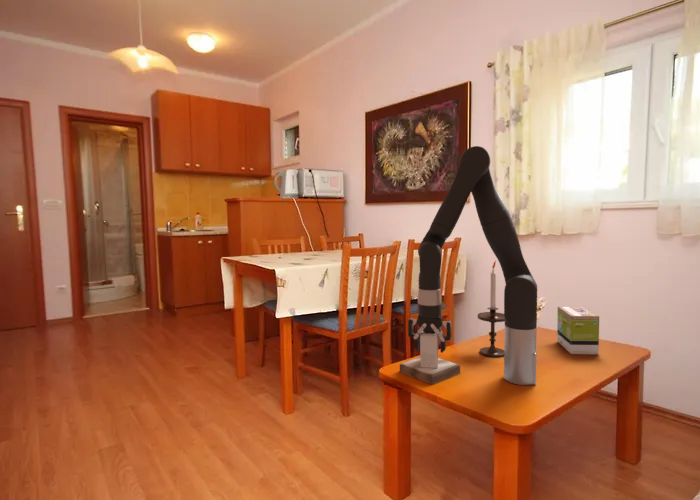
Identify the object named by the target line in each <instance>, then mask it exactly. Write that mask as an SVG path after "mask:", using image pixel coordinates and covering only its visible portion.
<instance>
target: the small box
mask: <svg viewBox="0 0 700 500" xmlns="http://www.w3.org/2000/svg"><path fill="white" fill-rule="evenodd" d="M419 350H420V351H419V354H420V355H419V357H420V363H421V367H427V368H438V358H439V337H438V335H437V334H436V333H424V332H423V331H422V332H421V334H420V335H419Z"/></svg>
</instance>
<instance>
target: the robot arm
mask: <svg viewBox="0 0 700 500" xmlns="http://www.w3.org/2000/svg"><path fill="white" fill-rule="evenodd" d="M490 166H491V156H490V153H489V151H488V150H487V149H486V148H484V147H483V146H477V145H476V146H471V147H468V148H467V149H466V150H464V152H462V154H461V156H460V158H459V164H458V169H457V171H456V175H455V177H454V179H453V182H452V184H451V186H450V188H449V190H448V193H447V194H446V196H445V198H444V199H443V201H442V203H441V205H440V206H439V208H438V210H437V212H436V214H435V216H434V218H433V220H432V222H431V224H430V226H429V229H428V231H427V232H426V233H425V235H424V237H423V239H422V241H421V242H420V244H419V245H418V248H417V254H418V257H419V272H418V273H419V274H418V291H417V318H413V317H410V318H409V319H408V321H407V322H408V324H407V325H408V329H407V330H408V331H407V333H408V334H407V336H408V337H409V338H412V339H413V346H414V349H415V350H416V351H419V350H420V335H421V332H422V331H423V332H424V333H436V334H437V335H438V339H439V340H440V353H444V352H445V350H447V349H446V347H447V345H446V344H447V343H446V342H448V341H451V339H452V321H451V320H448V321H446V320H445V321H444V320H443V319H442V292H441V270H442V269H441V268H442V248H443V247H444V244H445V243H446V240H447V239H448V238H449V237H450V236H451V235H452V234H453V233H452V232H453V231H454V230H455V227H456V225H457V223H458V221H459V219H460V217H461V215H462V212H463V210H464V208H465V205H466V203H467V201H468V199H469V196H470V194H471V195H472V197H473V201H474V204H475V208H476V213H477V215H478V216H477V217H478V220H479V223H480V226H481V229H482V231H483V234H484V237H485V240H486V241H487V243H488V245H489V247H490V249H491V251H492V253H493V254H494V255H495V258H496V259H497V260H498V263H499V265H500V268H501V271H502V275H503V278H504V282H505V286H504V292H503V294H504V295H503V304H504V305H503V314H504V318H505V321H504V339H503V340H504V343H503V344H504V348H503V350H504V356H503V359H504V361H503V379H504V380H505V381H506V382H509V383H511V384H515V385H518V386H519V385H520V386H529V385H537V323H538V321H537V320H538V312H537V311H538V284H537V282H536V281H535V279H534V276H533V275H532V273H531V271H530V269H529V267H528V264H527V262H526V260H525V259H524V258H525V257H524V255H523V252H522V247H521V245H520V240H519V236H518V233H517V229H516V226H515V224H514V221H513V218H512V215H511V213H510V212H509V209H508V207H507V206H506V203H505V202H504V200H503V199H502V197H501V196H500V194H499V192H498V190H497V189H496V186H495V184H494V180H493V177H492V173H491V169H490ZM416 324H417V325H418V327H419V329H418V330H417V331H416V333H415V332H414V326H415V325H416ZM442 326H444V328H445V329H446V335H445V334H444V333H443V331H442V329H441V327H442Z"/></svg>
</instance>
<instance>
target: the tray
mask: <svg viewBox="0 0 700 500" xmlns="http://www.w3.org/2000/svg"><path fill="white" fill-rule="evenodd" d="M399 373H401V374H404V375H406V376H409V377H411V378H413V379H416V380H419V381H422V382H424V383H427V384H429V385H432V386H433V385H435V384H437V383H440V382H442V381H445V380H447V379H449V378H452V377H455V376H457V375H459V374H461V365H459V364H458V363H455V362H451V361H448V360H447V359H442V358H440V357H438V368H427V367H421V363H420V356H419V357H416V358H413V359H410V360H407V361H405V362H402V363H400V364H399Z"/></svg>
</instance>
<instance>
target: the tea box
mask: <svg viewBox="0 0 700 500" xmlns="http://www.w3.org/2000/svg"><path fill="white" fill-rule="evenodd" d="M556 319H557V324H556V325H557V331H556V332H557V333H556V334H557V335H556V336H557V337H556V339H557V340H556V341H557V343H559V344H560V345H561V346H562V347H563V348H564V349H565V351H567V352H568V353H569V354H571V355H599V351H600V349H599V347H600V346H599V345H600V344H599V343H600V315H597V314H596V313H594V312H593V311H592V310H591V311H590V309H587V308H586V307H585V306H557V318H556Z"/></svg>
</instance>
